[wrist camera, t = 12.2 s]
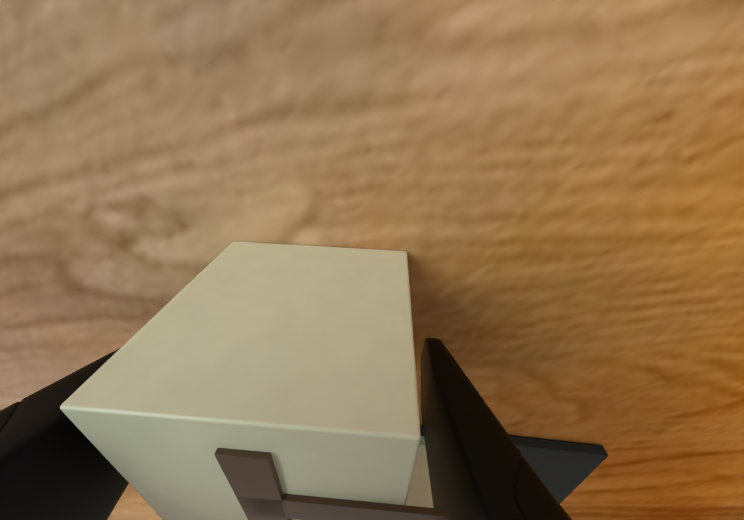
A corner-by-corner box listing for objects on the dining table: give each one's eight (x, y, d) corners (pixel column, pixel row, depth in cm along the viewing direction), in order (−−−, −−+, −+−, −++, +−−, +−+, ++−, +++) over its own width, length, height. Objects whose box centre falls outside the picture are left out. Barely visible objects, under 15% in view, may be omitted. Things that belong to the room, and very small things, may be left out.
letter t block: (432, 251, 8) (478, 453, 4) (413, 369, 11) (426, 567, 6) (232, 240, 8) (48, 414, 4) (262, 357, 11) (172, 541, 6)
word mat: (602, 445, 12) (610, 458, 12) (480, 574, 23) (481, 583, 22) (235, 405, 13) (229, 417, 12) (281, 550, 23) (278, 559, 23)
